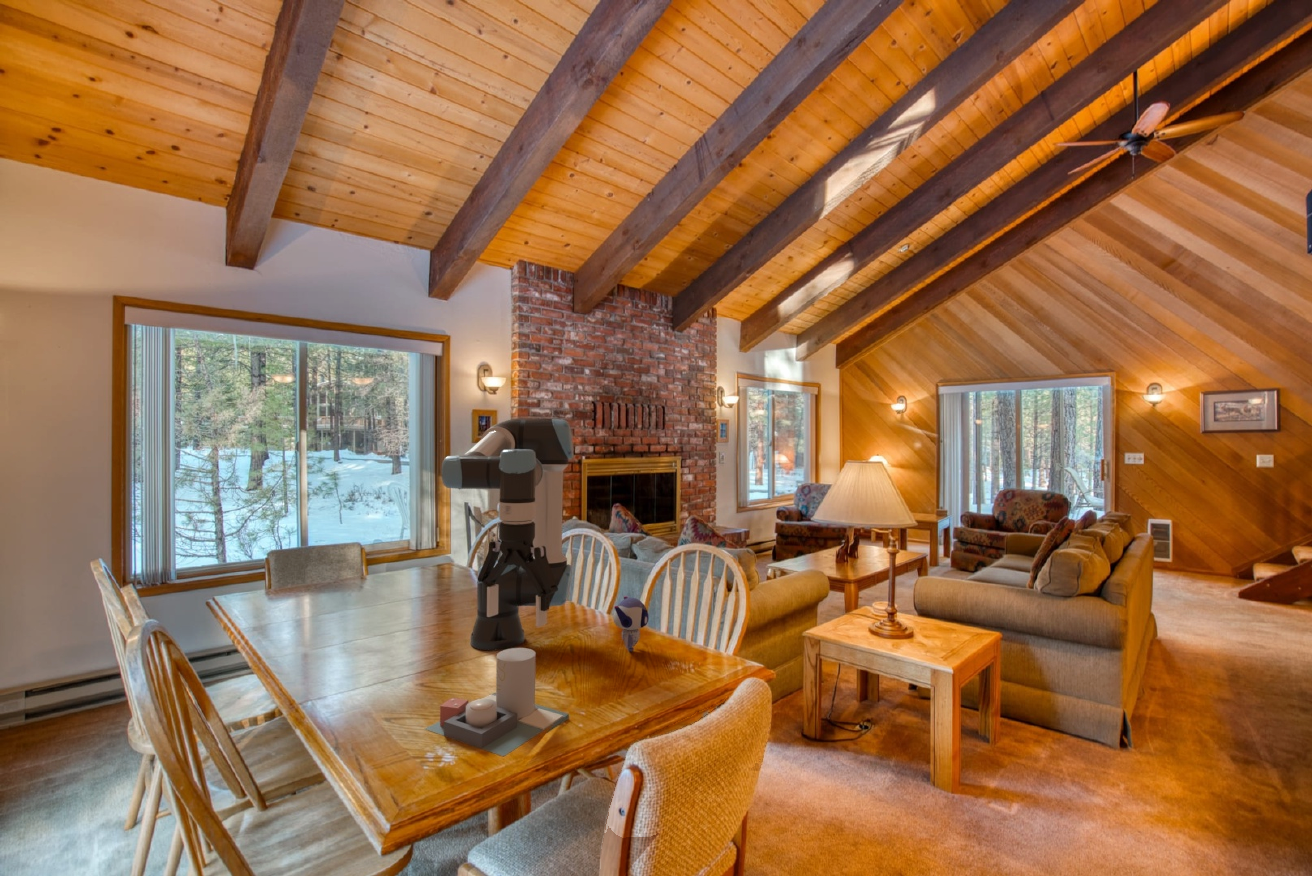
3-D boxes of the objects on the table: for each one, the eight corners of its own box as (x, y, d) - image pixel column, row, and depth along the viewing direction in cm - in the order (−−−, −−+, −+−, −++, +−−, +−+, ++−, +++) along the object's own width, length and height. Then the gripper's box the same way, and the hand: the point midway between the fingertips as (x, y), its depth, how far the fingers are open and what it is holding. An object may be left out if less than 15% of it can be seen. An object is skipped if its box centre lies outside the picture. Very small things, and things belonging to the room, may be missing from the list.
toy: (643, 660, 166) (644, 604, 166) (608, 656, 168) (608, 601, 168) (651, 646, 177) (652, 594, 176) (618, 643, 179) (618, 592, 178)
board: (424, 733, 125) (424, 714, 124) (495, 697, 142) (495, 680, 142) (503, 761, 114) (503, 741, 114) (568, 718, 132) (569, 700, 132)
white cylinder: (499, 702, 136) (500, 648, 136) (536, 701, 137) (537, 647, 137) (492, 719, 128) (493, 661, 128) (532, 718, 129) (533, 661, 129)
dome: (459, 727, 123) (459, 705, 123) (481, 715, 128) (481, 694, 128) (481, 735, 120) (481, 712, 120) (503, 722, 125) (503, 701, 125)
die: (440, 725, 126) (440, 704, 126) (451, 716, 130) (451, 696, 130) (457, 728, 125) (457, 706, 125) (468, 719, 129) (468, 698, 129)
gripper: (461, 518, 135) (460, 615, 135) (552, 528, 123) (551, 635, 123) (486, 514, 141) (485, 607, 142) (575, 524, 129) (574, 625, 130)
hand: (516, 620), depth 132 cm, fingers open, 13 cm apart
